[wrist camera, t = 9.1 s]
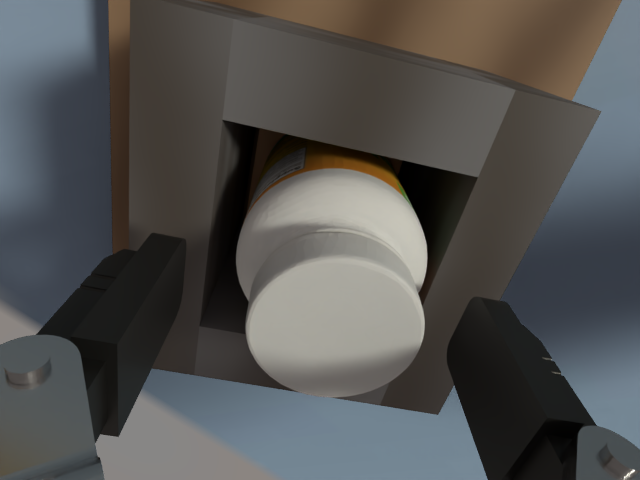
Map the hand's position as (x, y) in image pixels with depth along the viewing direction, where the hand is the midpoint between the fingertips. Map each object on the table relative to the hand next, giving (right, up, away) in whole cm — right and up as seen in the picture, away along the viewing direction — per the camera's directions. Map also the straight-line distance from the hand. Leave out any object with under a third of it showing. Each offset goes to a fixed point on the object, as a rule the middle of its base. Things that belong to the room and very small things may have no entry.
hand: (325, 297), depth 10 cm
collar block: (0, +5, +10) cm, 11 cm away
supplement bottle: (0, +4, +8) cm, 9 cm away
